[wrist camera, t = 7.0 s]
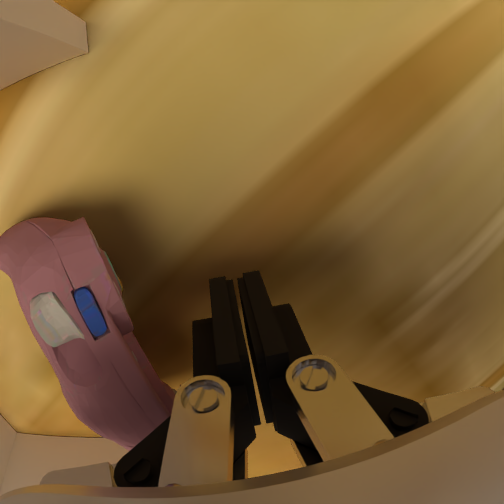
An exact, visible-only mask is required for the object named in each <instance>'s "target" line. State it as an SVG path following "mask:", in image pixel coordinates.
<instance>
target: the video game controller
mask: <svg viewBox="0 0 504 504" xmlns="http://www.w3.org/2000/svg"><path fill="white" fill-rule="evenodd" d="M0 269H1V270H2V271H3V272H5V273H6V274H8V276H9V277H10V278H11V279H12V282H13V285H14V288H15V291H16V295H17V298H18V301H19V303H20V306H21V308H22V311H23V313H24V315H25V317H26V320H27V322H28V324H29V326H30V328H31V331H32V333H33V335H34V337H35V338H36V340H37V342H38V344H39V345H40V347H41V349H42V350H43V352H44V354H45V355H46V357H47V359H48V360H49V362H50V364H51V365H52V367H53V369H54V371H55V373H56V375H57V377H58V379H59V382H60V385H61V388H62V392H63V394H64V396H65V398H66V400H67V402H68V404H69V406H70V408H71V409H72V411H73V412H74V414H75V415H76V417H77V418H78V419H79V420H80V421H82V422H83V423H84V424H85V425H87V426H88V427H89V428H90V429H92V430H93V431H94V432H96V433H97V434H99V435H101V436H102V437H104V438H106V439H109V440H112V441H114V442H116V443H117V444H119V445H121V446H123V447H124V448H125V449H127V450H128V451H130V450H131V449H132V448H134V447H135V446H136V445H137V444H138V443H139V442H141V441H142V440H143V439H144V438H145V437H146V436H148V435H149V434H150V433H151V432H152V431H153V430H155V429H156V428H157V427H158V426H159V425H160V424H161V423H162V422H164V421H165V420H166V419H167V418H168V417H169V416H170V415H171V413H172V408H173V403H174V399H175V395H176V392H177V391H176V390H174V389H171V388H170V386H168V385H167V384H165V383H164V382H162V381H161V380H160V379H159V377H158V375H157V374H156V372H155V370H154V369H153V367H152V365H151V364H150V362H149V360H148V358H147V357H146V355H145V353H144V352H143V350H142V348H141V346H140V345H139V343H138V341H137V339H136V338H135V336H134V334H133V332H132V331H133V330H134V326H133V324H132V321H131V319H130V317H129V315H128V313H127V311H126V307H125V304H124V302H123V300H122V292H123V286H122V283H121V281H120V279H119V277H118V276H117V275H116V273H115V271H114V268H113V266H112V264H111V262H110V260H109V258H108V256H107V254H106V252H105V251H103V250H102V249H101V248H100V247H99V246H98V243H97V241H96V239H95V237H94V235H93V233H92V231H91V230H90V229H89V227H88V224H87V222H86V220H85V218H84V217H82V218H79V219H77V220H75V221H72V222H71V221H68V220H62V219H55V218H48V217H40V218H32V219H28V220H25V221H22V222H20V223H18V224H16V225H14V226H12V227H11V228H9V229H8V230H7V231H5V232H4V233H3V234H2V235H1V236H0ZM180 386H181V385H180Z"/></svg>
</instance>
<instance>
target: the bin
mask: <svg viewBox="0 0 504 504" xmlns="http://www.w3.org/2000/svg"><path fill="white" fill-rule="evenodd" d="M86 53H89V52H88V42H87V31H86V22H85V21H83V20H82V19H80V18H79V17H77V16H76V15H74V14H73V13H71V12H70V11H68V10H67V9H65V8H63V7H62V6H60V5H59V4H57V3H56V2H54V1H52V0H0V90H1V89H3V88H5V87H7V86H9V85H11V84H13V83H15V82H17V81H19V80H22V79H24V78H26V77H28V76H30V75H32V74H35V73H37V72H39V71H42V70H44V69H46V68H49V67H51V66H54V65H56V64H59V63H61V62H64V61H66V60H69V59H72V58H75V57H77V56H80V55H83V54H86ZM128 452H129V451H128V450H127V449H125V448H124V447H123V446H121V445H119V444H117V443H116V442H114V441H112V440H109V439H106V438H84V437H59V436H45V435H33V434H24V433H17V432H16V431H15V430H14V429H13V428H12V427H11V426H10V425H9V424H8V422H7V421H6V420H5V419H4V418H3V417H2V416H1V415H0V496H1V495H3V494H5V493H7V492H9V491H12V490H15V489H18V488H22V487H27V486H33V485H40V482H41V480H42V478H43V477H44V476H45V475H46V474H47V473H48V472H51V471H54V470H61V469H68V468H75V467H82V466H88V465H93V464H99V463H104V462H109V463H110V464H116V463H117V462H118V461H119V460H120V459H121V458H122V457H123V456H124V455H125V454H126V453H128Z"/></svg>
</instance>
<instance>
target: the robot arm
mask: <svg viewBox="0 0 504 504" xmlns="http://www.w3.org/2000/svg"><path fill="white" fill-rule="evenodd" d="M237 280H238V287H239V293H240V299H241V305H242V311H243V317H244V323H245V329H246V335H247V340H248V346H249V350H250V355H251V359H252V364H253V368H254V372H255V377H256V381H257V385H258V390H259V394H260V398H261V403H262V407H263V411H264V415H265V420H266V423H271V422H273V424H274V428H275V431H277V432H278V433H279V434H281V435H283V436H286V437H288V438H290V441H291V445H292V447H293V449H294V451H295V452H296V454H297V456H298V458H299V460H300V462H301V464H302V466H303V467H302V468H298V469H293V470H289V471H284V472H280V473H275V474H270V475H265V476H259V477H254V478H248V451H247V447H248V446H249V445H250V444H251V443H252V441H253V440H254V439H255V438H256V433H255V428H254V426H256V425H261V422H260V416H259V411H258V406H257V400H256V395H255V389H254V384H253V378H252V373H251V367H250V362H249V357H248V352H247V348H246V343H245V338H244V334H243V329H242V324H241V319H240V314H239V310H238V305H237V300H236V295H235V290H234V285H233V280H226V278H225V276H224V277H218V278H212V279H209V284H210V296H211V308H212V318H207V319H201V320H195V321H193V323H192V336H193V378H192V379H189V380H188V381H186V382H185V383H183V384H182V385H181V386H180V388H179V389H178V390H177V392H176V395H175V399H174V403H173V408H172V413H171V415H170V416H169V417H168V418H167V419H166V420H165V421H164V422H162V423H161V424H160V425H159V426H158V427H157V428H156V429H155V430H153V431H152V432H151V433H150V434H149V435H148V436H146V437H145V438H144V439H143V440H142V441H141V442H139V443H138V444H137V445H136V446H135V447H134V448H132V449H131V450H130V451H129V452H128V453H126V454H125V455H124V456H123V457H122V458H121V459H120V460H119V461H118V462H117V463H116V464H110V463H109V462H104V463H99V464H93V465H88V466H82V467H75V468H68V469H61V470H54V471H51V472H48V473H47V474H46V475H45V476H44V477H43V478H42V480H41V482H40V485H33V486H27V487H22V488H18V489H15V490H12V491H9V492H7V493H5V494H3V495H1V496H0V504H504V390H501V391H498V392H494V391H493V390H491V389H490V388H487V387H483V386H481V387H474V388H470V389H466V390H462V391H458V392H454V393H450V394H445V395H441V396H436V397H431V398H426V399H425V400H424V402H422V403H418V402H415V401H413V400H411V399H407V398H404V397H401V396H397V395H394V394H390V393H387V392H384V391H381V390H377V389H374V388H371V387H368V386H365V385H362V384H359V383H356V382H352V381H351V380H350V378H349V377H348V376H347V374H346V373H345V372H344V370H343V369H342V368H341V367H340V365H339V364H338V363H337V362H336V361H335V360H333V359H331V358H329V357H327V356H323V355H312V352H311V350H310V348H309V346H308V343H307V341H306V339H305V336H304V334H303V332H302V330H301V327H300V325H299V323H298V321H297V318H296V316H295V314H294V312H293V309H292V307H291V305H290V304H289V303H288V304H283V305H278V306H273V307H272V305H271V302H270V299H269V296H268V294H267V291H266V288H265V285H264V283H263V280H262V277H261V274H260V272H259V270H258V271H252V272H246V273H243V278H237Z"/></svg>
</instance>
